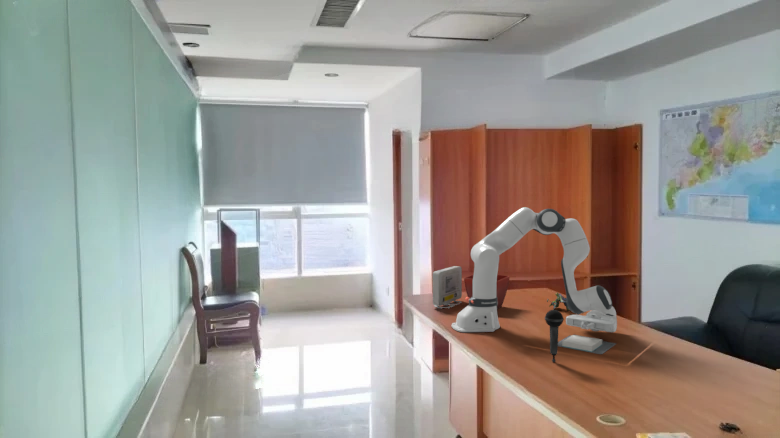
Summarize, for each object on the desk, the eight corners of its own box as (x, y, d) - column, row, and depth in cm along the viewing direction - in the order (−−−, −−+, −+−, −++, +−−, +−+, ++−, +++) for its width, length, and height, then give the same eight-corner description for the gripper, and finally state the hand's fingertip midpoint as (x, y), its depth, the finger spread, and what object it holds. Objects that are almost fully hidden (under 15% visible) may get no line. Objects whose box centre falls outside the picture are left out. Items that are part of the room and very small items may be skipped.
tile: (573, 334, 236) (562, 341, 227) (602, 339, 229) (591, 346, 219) (573, 339, 237) (562, 346, 227) (602, 344, 229) (591, 352, 220)
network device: (452, 299, 321) (452, 265, 319) (466, 301, 316) (466, 266, 314) (429, 308, 300) (428, 271, 299) (443, 310, 295) (443, 273, 294)
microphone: (560, 366, 205) (561, 313, 204) (542, 363, 209) (542, 310, 208) (565, 361, 211) (565, 309, 210) (547, 358, 215) (547, 307, 213)
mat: (569, 336, 243) (569, 335, 243) (616, 344, 231) (616, 343, 231) (552, 346, 230) (552, 345, 229) (601, 355, 217) (601, 354, 217)
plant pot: (510, 306, 303) (510, 275, 302) (497, 313, 287) (497, 281, 286) (477, 302, 313) (477, 272, 312) (463, 309, 297) (463, 278, 296)
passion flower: (567, 320, 292) (577, 305, 284) (547, 317, 290) (557, 302, 283) (561, 304, 300) (571, 289, 293) (542, 301, 299) (551, 286, 292)
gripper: (572, 309, 246) (560, 315, 236) (620, 316, 233) (609, 323, 223) (572, 323, 247) (559, 330, 236) (620, 331, 234) (609, 338, 223)
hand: (584, 327), depth 229 cm, fingers closed
